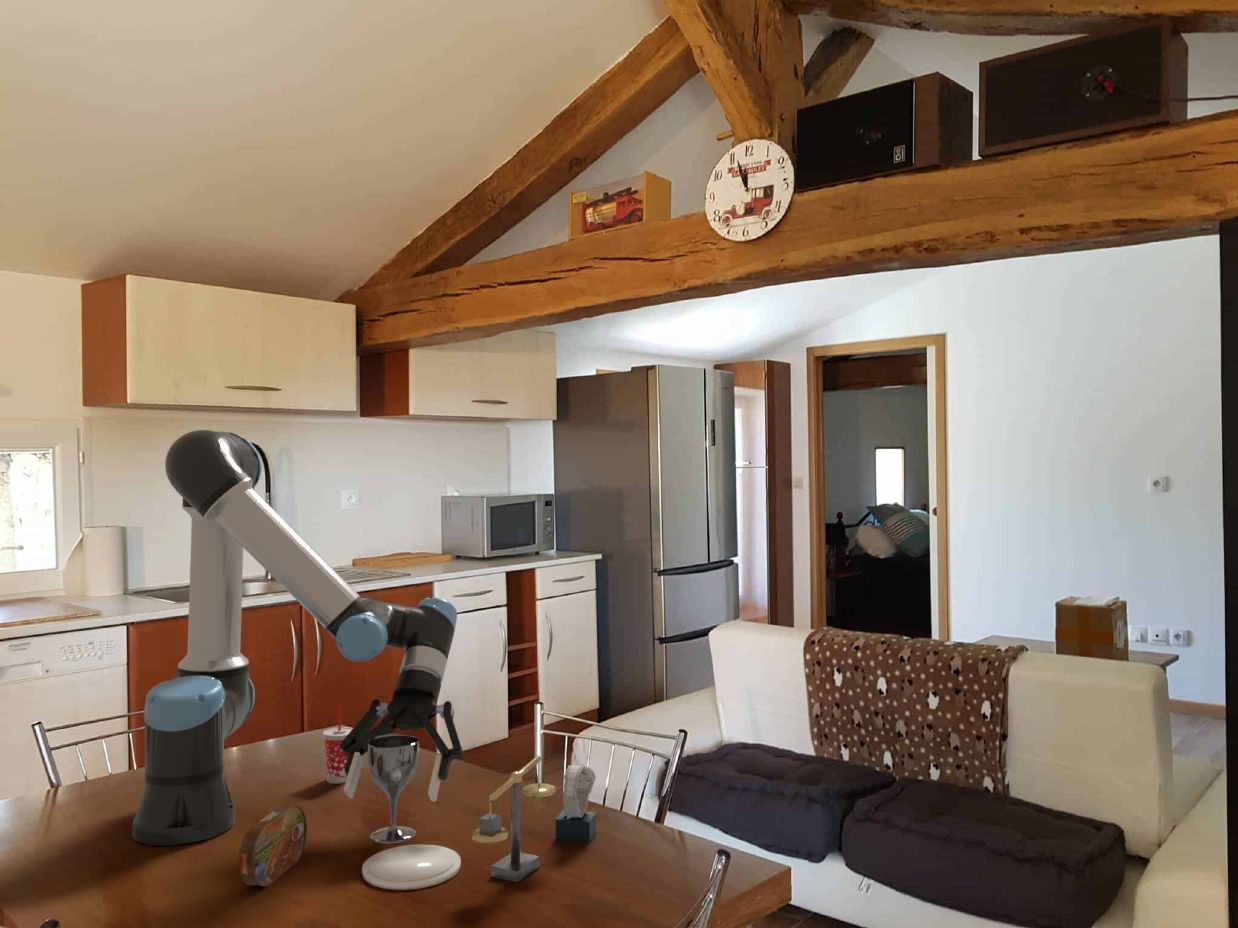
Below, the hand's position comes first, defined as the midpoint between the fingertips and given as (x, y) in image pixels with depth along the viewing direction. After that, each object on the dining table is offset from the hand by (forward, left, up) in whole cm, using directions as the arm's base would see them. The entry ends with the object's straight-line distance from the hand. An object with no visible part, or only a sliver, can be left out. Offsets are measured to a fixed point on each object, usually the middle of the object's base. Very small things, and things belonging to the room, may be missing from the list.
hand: (389, 795), depth 151 cm
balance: (+24, -1, -7) cm, 25 cm away
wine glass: (-1, +2, -7) cm, 7 cm away
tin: (-7, -17, -7) cm, 20 cm away
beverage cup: (-28, +19, -7) cm, 34 cm away
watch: (+25, +15, -7) cm, 30 cm away
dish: (+10, -7, -7) cm, 14 cm away
